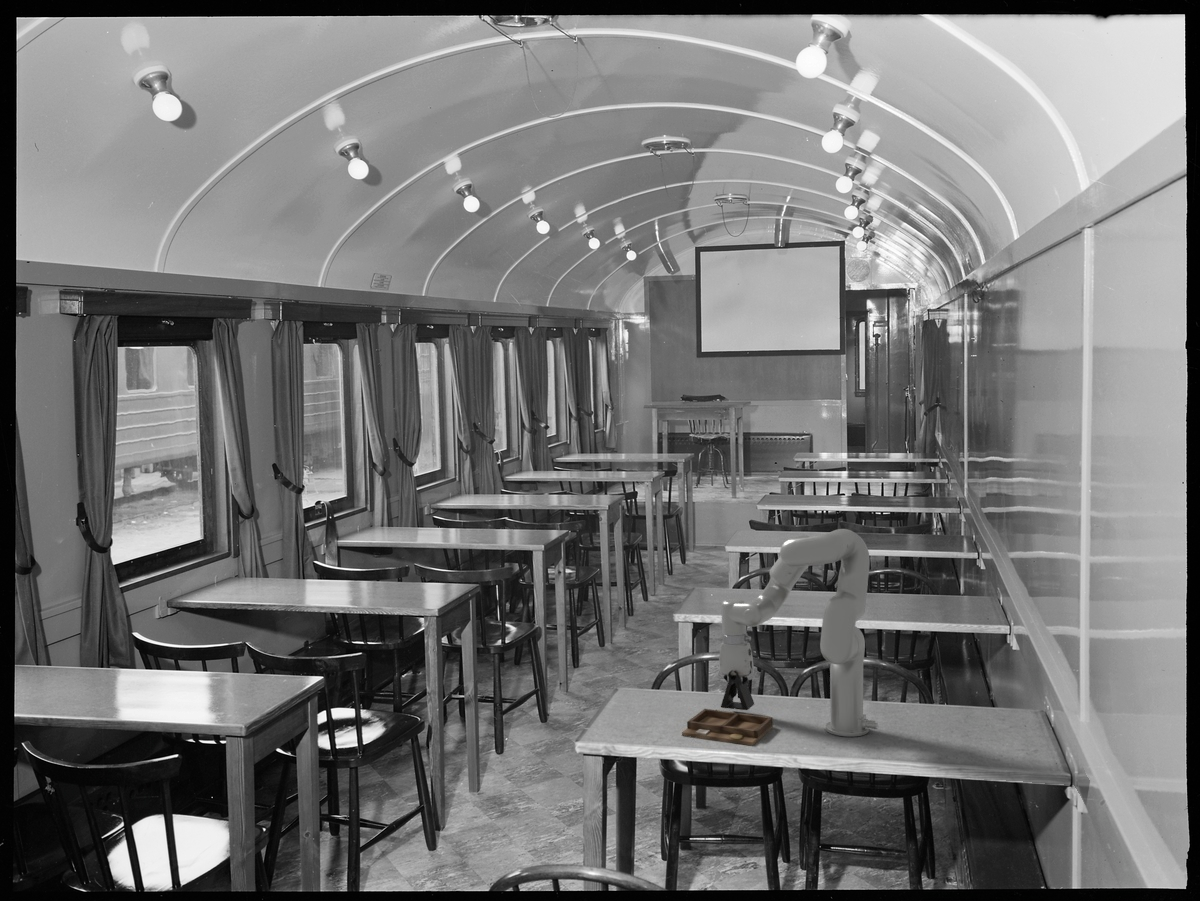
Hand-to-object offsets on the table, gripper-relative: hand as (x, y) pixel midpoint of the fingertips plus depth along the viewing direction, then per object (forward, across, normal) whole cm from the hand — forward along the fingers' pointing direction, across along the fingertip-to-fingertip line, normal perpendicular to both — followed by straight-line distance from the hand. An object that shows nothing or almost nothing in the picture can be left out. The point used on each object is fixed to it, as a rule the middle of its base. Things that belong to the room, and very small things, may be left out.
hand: (737, 696), depth 336 cm
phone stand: (+3, 0, 0) cm, 3 cm away
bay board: (+6, -3, +17) cm, 18 cm away
